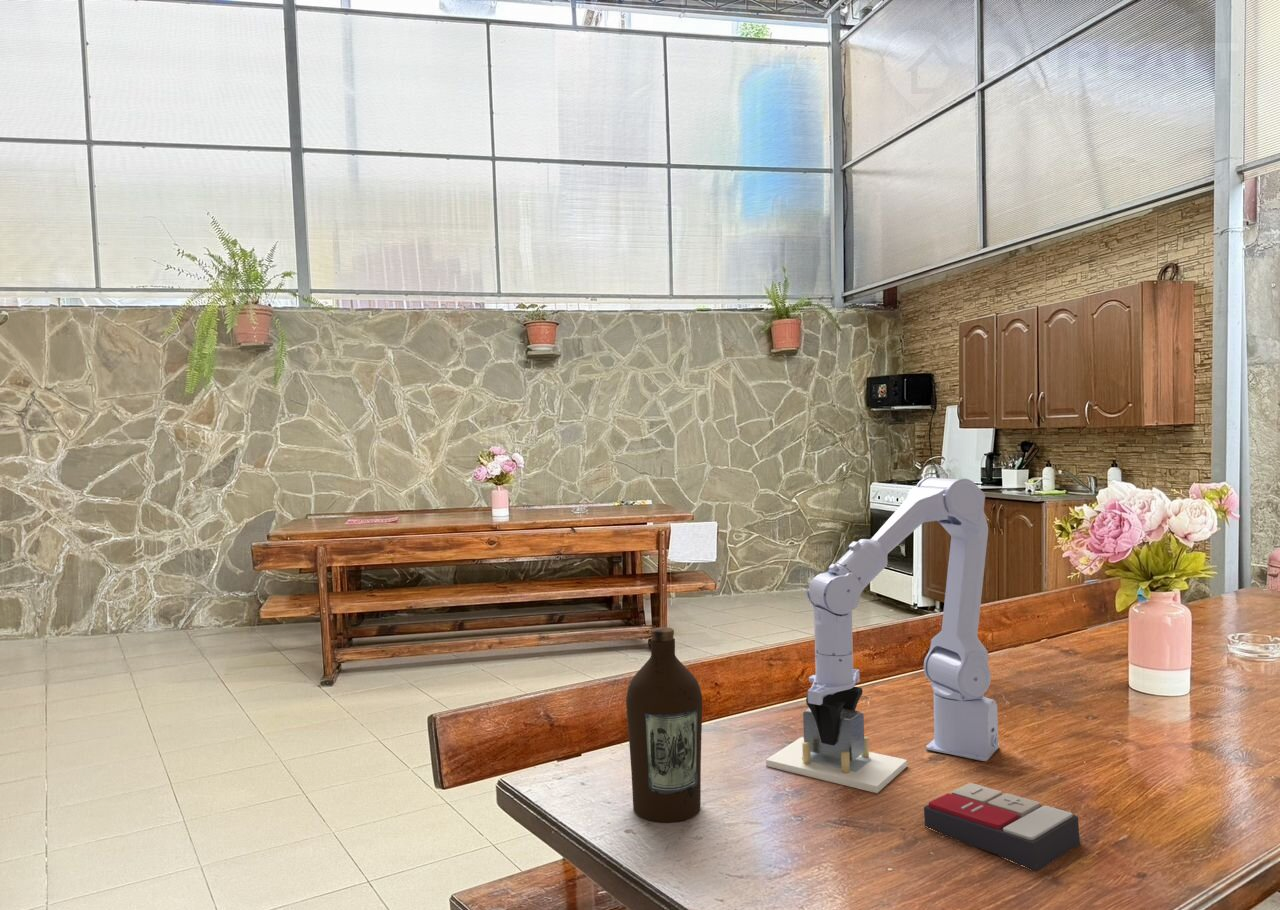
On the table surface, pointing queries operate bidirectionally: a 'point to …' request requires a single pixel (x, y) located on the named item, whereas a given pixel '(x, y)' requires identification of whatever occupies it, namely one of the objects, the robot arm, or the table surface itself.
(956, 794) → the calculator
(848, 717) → the block
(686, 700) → the olive oil
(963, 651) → the robot arm
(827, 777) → the cream pegged board
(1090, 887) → the table surface
